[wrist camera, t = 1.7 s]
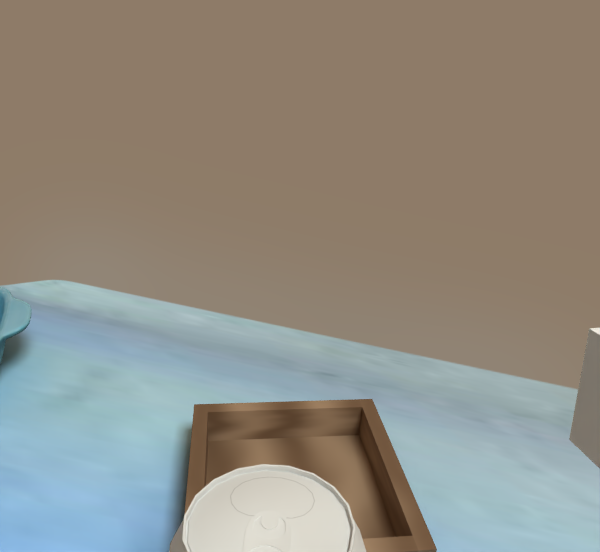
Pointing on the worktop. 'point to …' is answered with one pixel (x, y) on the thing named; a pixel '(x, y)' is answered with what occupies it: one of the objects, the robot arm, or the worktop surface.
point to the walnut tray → (315, 460)
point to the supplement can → (268, 514)
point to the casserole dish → (12, 317)
